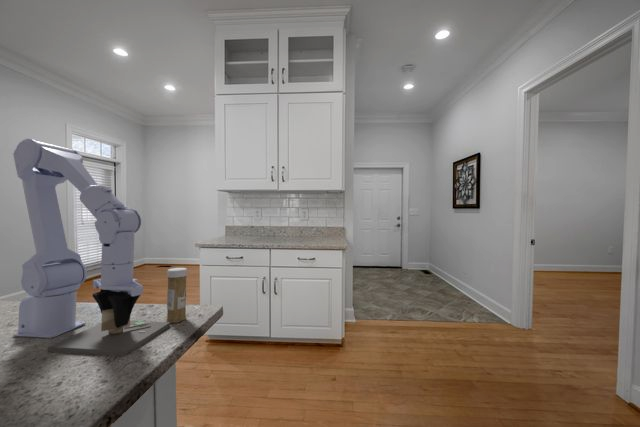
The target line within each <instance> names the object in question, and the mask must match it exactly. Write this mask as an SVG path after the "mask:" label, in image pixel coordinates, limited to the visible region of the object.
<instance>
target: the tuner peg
mask: <svg viewBox="0 0 640 427" xmlns="http://www.w3.org/2000/svg"><path fill="white" fill-rule="evenodd" d="M130 321H131V317H130V318H129V321H128V324H127V325H124V326H121V327H118V328H117V327H116V326H115V321H114V311H113V309H109V310H103V311H102V314H101V323H102V326H101V332H102V331H106V330H108V334H118V333H121V332H122V331H123V327H124V330H125V329H129V328H134V327H139V326H144V325H149V324H151V322H152V321H151V322H146V323H142V324H137V325H132V326H130ZM126 326H127V327H126Z"/></svg>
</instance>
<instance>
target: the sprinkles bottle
mask: <svg viewBox="0 0 640 427" xmlns="http://www.w3.org/2000/svg"><path fill="white" fill-rule="evenodd" d="M166 276H167V289H166V290H167V294H166V295H167V297H166V298H167V299H166V301H167V303H166V308H167V313H166V314H167V315H166V316H167V318H166V322H170V324H173V323H175V324H176V323H180V322H183V321H184V320H185V319H187V316H186V306H187V276H188V268H186V267H173V268H168V269H167V273H166Z"/></svg>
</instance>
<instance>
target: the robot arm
mask: <svg viewBox="0 0 640 427" xmlns="http://www.w3.org/2000/svg"><path fill="white" fill-rule="evenodd" d="M12 155H13V160H14V164H15V170H16V174H17V177H18V178H19V179H20V180H21V181H22V188H23V193H24V197H25V198H24V199H25V203H26V208H27V212H28V214H27V215H28V218H29V223H30V229H31V233H32V238H33V243H34V249H35V254H34V255H33V256H30V258H28V259H27V260H26V261H25V262H24V263H22V264H21V265H22V266H21V267H22V275H21V280H20V283H21V288H22V289H23V291H24V292H25V293H26V294H27V295H25V297H23V298H22V300H21V301H20V303H19V306H18V323H17V324H18V326H17V330H18V331H17V332H15V333H13V337H25V338H26V337H27V338H47V339H52V338H55V337H57V336H60V335H63V334H64V333H68V332H69V331H72V330H75V329H78V328H79V327H81V326H84V325H86V321H78V320H77V319H76V318H77V315H76V314H77V290H79V289H81V285H83V283H85V281H86V280H87V275H88V271H87V267H86V265H85V264H84V263H83V261H82V258H81V254H80V253H77V252H75V251H73V250H71V249H69V247H68V243H67V238H66V234H65V230H64V224H63V223H64V222H63V219H62V215H61V210H60V205H59V199H58V195H57V194H58V193H57V190H56V186H58V185H60V184H64V183H65V182H66V181H69V183H71V185H73V186H74V187H75V188H76V189H77V190H78V192H80V194H79V200H80V202H81V203H82V204H83V205H84V207H85V208H86V209H87V210H88V212H90V213H91V215H92V216H93V217H94V218H95V219H96V220H95V221H94V228H95V230H96V232H97V233H98V241H99V242H100V244H101V264H100V278H96V279H93V281H92V289H94V290H96V289H100V290H99V291H97V292H94V293H92V297H93V299H94V300H95V301H96V303H97V305H98V307H99V311H100V314H101V315H102V311H103V310H109V309H113V311H114V321H115V326H116V327H117V328H118V327H121V326H124V325H127V324H128V321H129V318H130V319H131V314H132V312H133V308H134V307H135V305H136V303H137V301H138V300H139V297H141V296H142V295H144V285H143V284H140V283H139V282H138V280H139V279H138V278H134V262H135V259H134V258H135V257H134V256H135V233H137V232H138V231H139V230H140V228H141V227H142V226H141V225H142V218H141V215H140V214H139V212H138V211H137V210H136V209H133V208H129V207H127V206H125V205H124V203H123V202H122V201H121V200H119V199H118V198H117V196H115V194H114V193H113V190H112V188H111V187H109V186H105V185H102V184H98V183H97V182H96V181H95V180H94V178H93V176H92V175H91V174H90V172H89V171H88V169H87V168H86V167H85V166H84V157H83V156H82V155H80V153H79V152H78V150H77V149H74V148H70V147H68V148H67V147H63V146H59V145H55V144H51V143H46V142H42V141H37V140H35V139H32V138H25V139H23V140H21V141H20V142H19V143H18V144H17V145H16V148H15V149H14V151H13V154H12Z"/></svg>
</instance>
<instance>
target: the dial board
mask: <svg viewBox="0 0 640 427" xmlns="http://www.w3.org/2000/svg"><path fill="white" fill-rule="evenodd" d="M146 322H151V324H149V325H144V326H139V327H134V328H129V329H125V330H124V327H123V331H122V332H121V333H118V334H108V330H106V331H102V332H101V326H102V322H100V323H98V324H96V325H94V326H91V327H89V328H88V329H85V330H82V331H80V332H78V333H75V334H74V335H73V334H72V335H71V336H69V337H67V338H64V339H62V340H60V341H58V342H55V343H53V344H51V345H48V346H47V352H48V353H63V354H80V355H97V356H98V355H101V356H116V357H117V356H118V357H125V356H126V355H128V354H130V353H131V352H133V351H135V350H136V349H138V348H139V347H140V346H142V345H144V344H146V342H149V341H150V340H151V339H153V338H155V337H157V336H158V335H159V334H161V333H162V332H164V331H165V330H167V329H168V328H170V327H171V323H170V322H167V321H148V320H130V326H132V325H137V324H142V323H146ZM126 327H127V326H126Z"/></svg>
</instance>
